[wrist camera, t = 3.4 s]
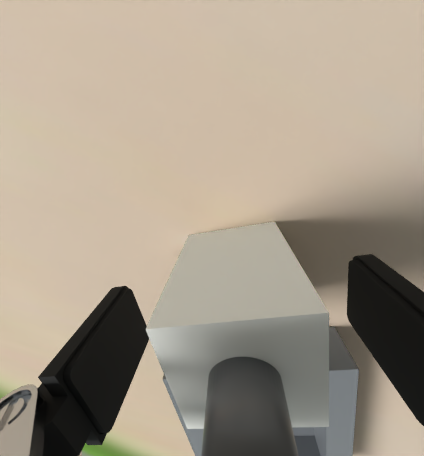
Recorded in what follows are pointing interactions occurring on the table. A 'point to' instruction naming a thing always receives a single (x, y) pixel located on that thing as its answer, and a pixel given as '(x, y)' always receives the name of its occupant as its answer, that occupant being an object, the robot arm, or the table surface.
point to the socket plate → (338, 409)
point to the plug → (243, 342)
